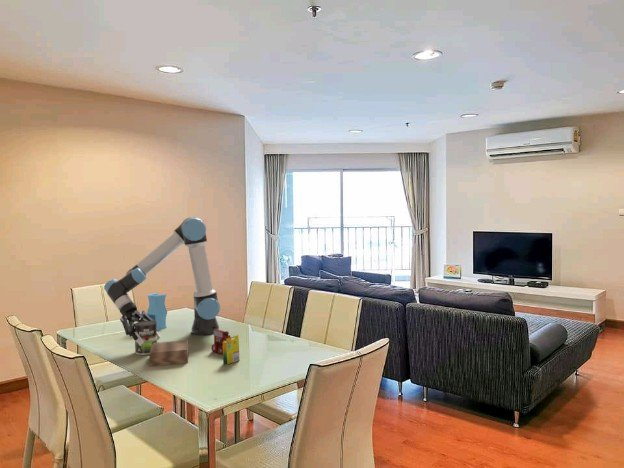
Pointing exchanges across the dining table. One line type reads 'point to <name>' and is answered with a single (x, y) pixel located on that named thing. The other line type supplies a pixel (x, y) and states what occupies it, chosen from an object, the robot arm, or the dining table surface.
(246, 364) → the dining table surface
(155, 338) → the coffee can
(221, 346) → the toy fire truck
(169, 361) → the walnut block
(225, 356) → the crayon box
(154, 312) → the vase
